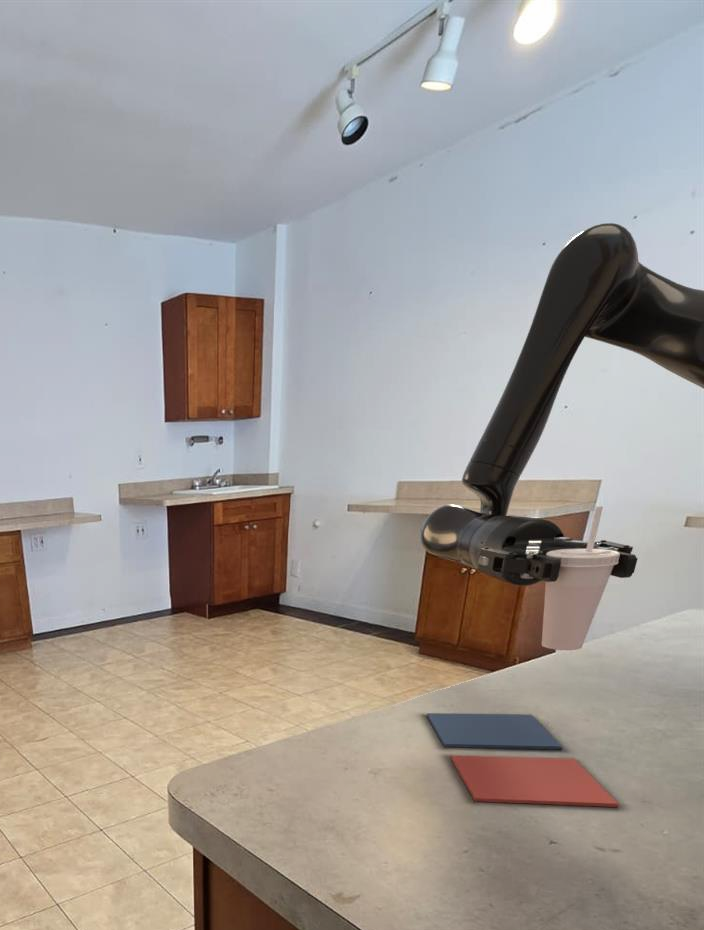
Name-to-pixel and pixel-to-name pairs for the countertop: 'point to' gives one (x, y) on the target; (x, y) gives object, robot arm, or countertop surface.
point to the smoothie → (576, 592)
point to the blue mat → (491, 731)
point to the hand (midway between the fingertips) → (592, 569)
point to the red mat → (530, 781)
